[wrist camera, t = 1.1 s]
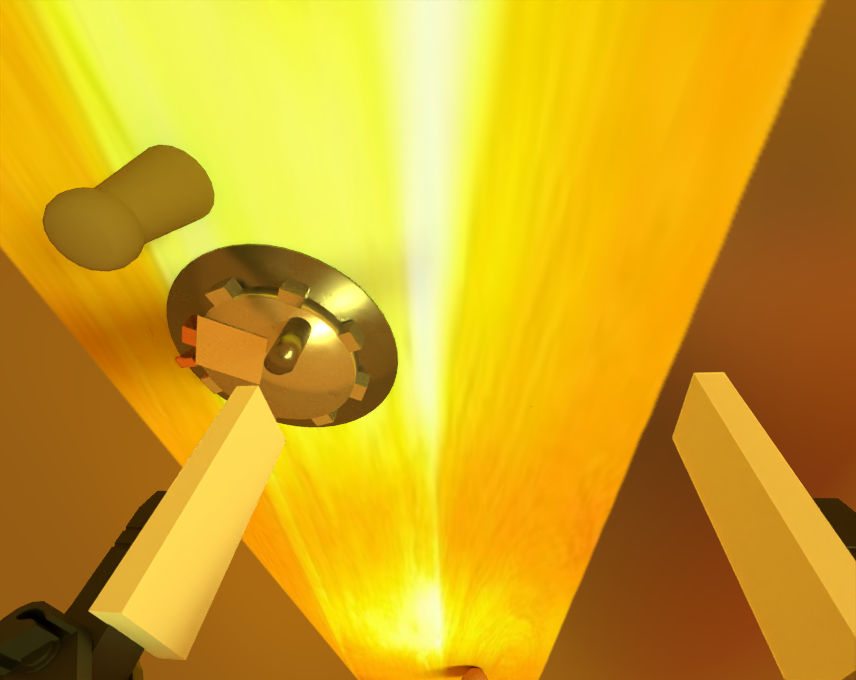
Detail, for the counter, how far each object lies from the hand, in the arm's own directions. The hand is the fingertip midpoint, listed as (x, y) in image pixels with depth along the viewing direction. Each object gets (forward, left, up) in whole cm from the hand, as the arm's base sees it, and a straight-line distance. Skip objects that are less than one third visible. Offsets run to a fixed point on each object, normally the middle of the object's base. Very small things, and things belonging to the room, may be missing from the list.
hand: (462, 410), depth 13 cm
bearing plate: (-5, -25, -24) cm, 35 cm away
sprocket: (-5, -25, -24) cm, 35 cm away
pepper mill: (-19, -14, -24) cm, 34 cm away
